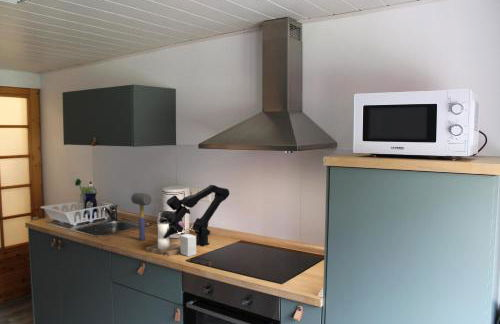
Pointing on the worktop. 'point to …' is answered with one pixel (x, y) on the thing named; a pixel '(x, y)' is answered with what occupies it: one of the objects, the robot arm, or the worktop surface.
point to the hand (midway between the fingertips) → (161, 237)
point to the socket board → (173, 250)
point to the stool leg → (163, 242)
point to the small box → (188, 245)
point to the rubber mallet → (141, 210)
